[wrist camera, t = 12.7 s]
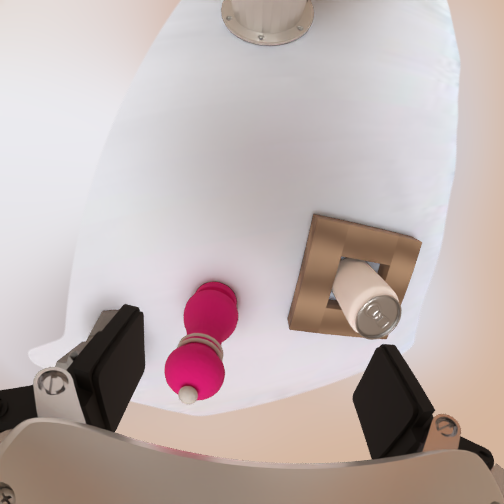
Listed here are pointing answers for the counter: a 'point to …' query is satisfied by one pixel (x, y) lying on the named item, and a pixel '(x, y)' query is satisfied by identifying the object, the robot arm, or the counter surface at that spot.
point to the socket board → (326, 264)
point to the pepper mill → (202, 343)
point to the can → (366, 299)
